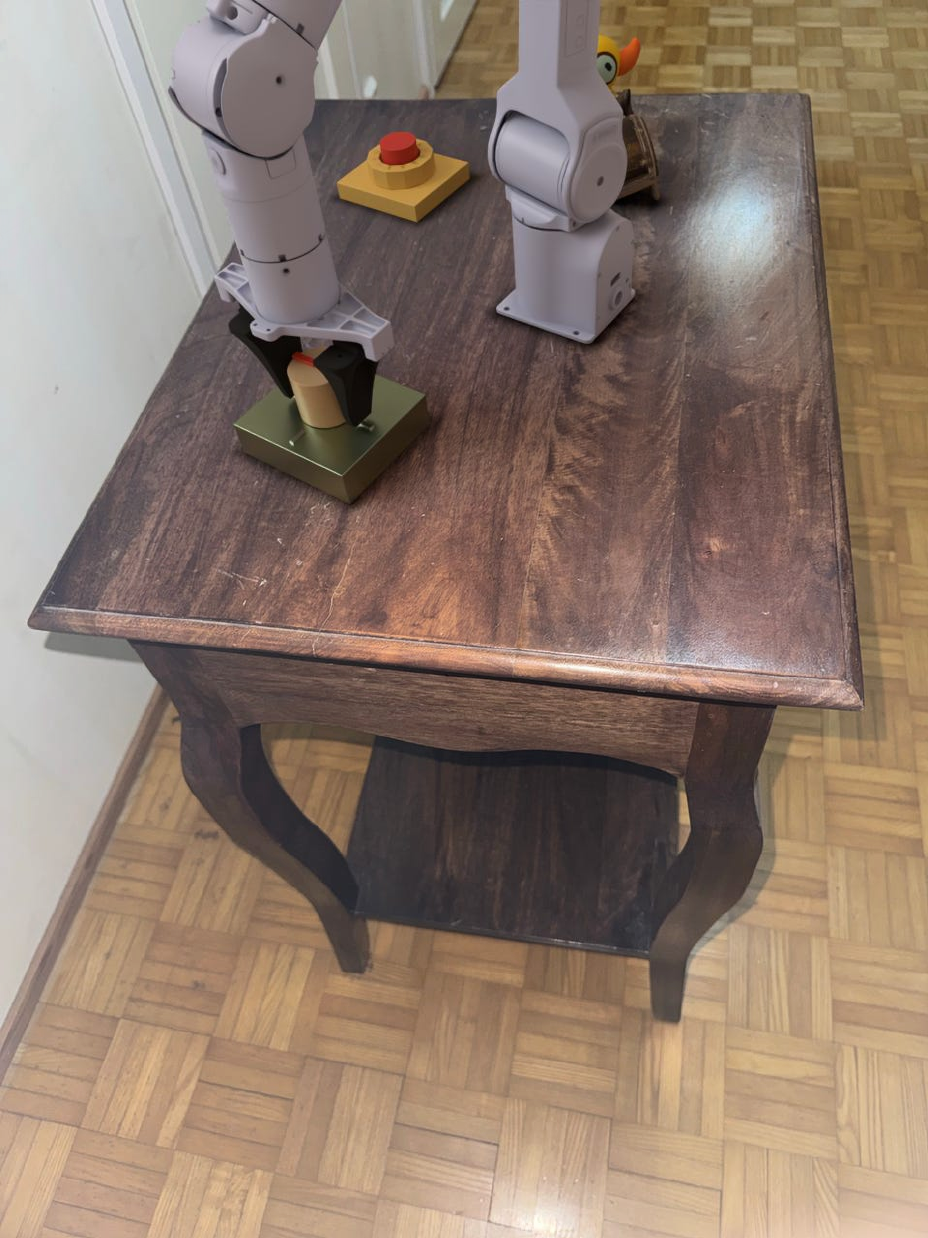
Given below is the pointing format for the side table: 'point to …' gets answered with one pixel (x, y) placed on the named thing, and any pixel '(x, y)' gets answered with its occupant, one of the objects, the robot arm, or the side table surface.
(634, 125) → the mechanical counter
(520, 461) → the side table surface
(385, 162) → the button
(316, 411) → the knob
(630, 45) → the duckling
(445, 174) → the housing
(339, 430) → the panel
